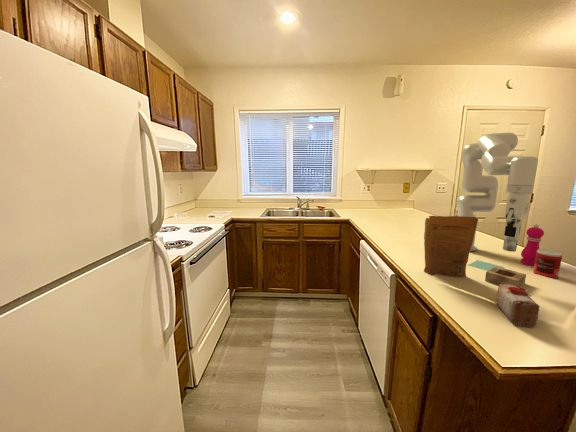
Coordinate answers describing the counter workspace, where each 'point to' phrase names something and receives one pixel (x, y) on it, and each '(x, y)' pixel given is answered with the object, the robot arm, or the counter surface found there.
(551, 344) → the counter surface
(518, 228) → the steel pin
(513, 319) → the food item
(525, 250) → the pepper mill
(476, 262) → the mat
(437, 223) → the pancake mix bag
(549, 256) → the canned food
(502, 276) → the socket block
